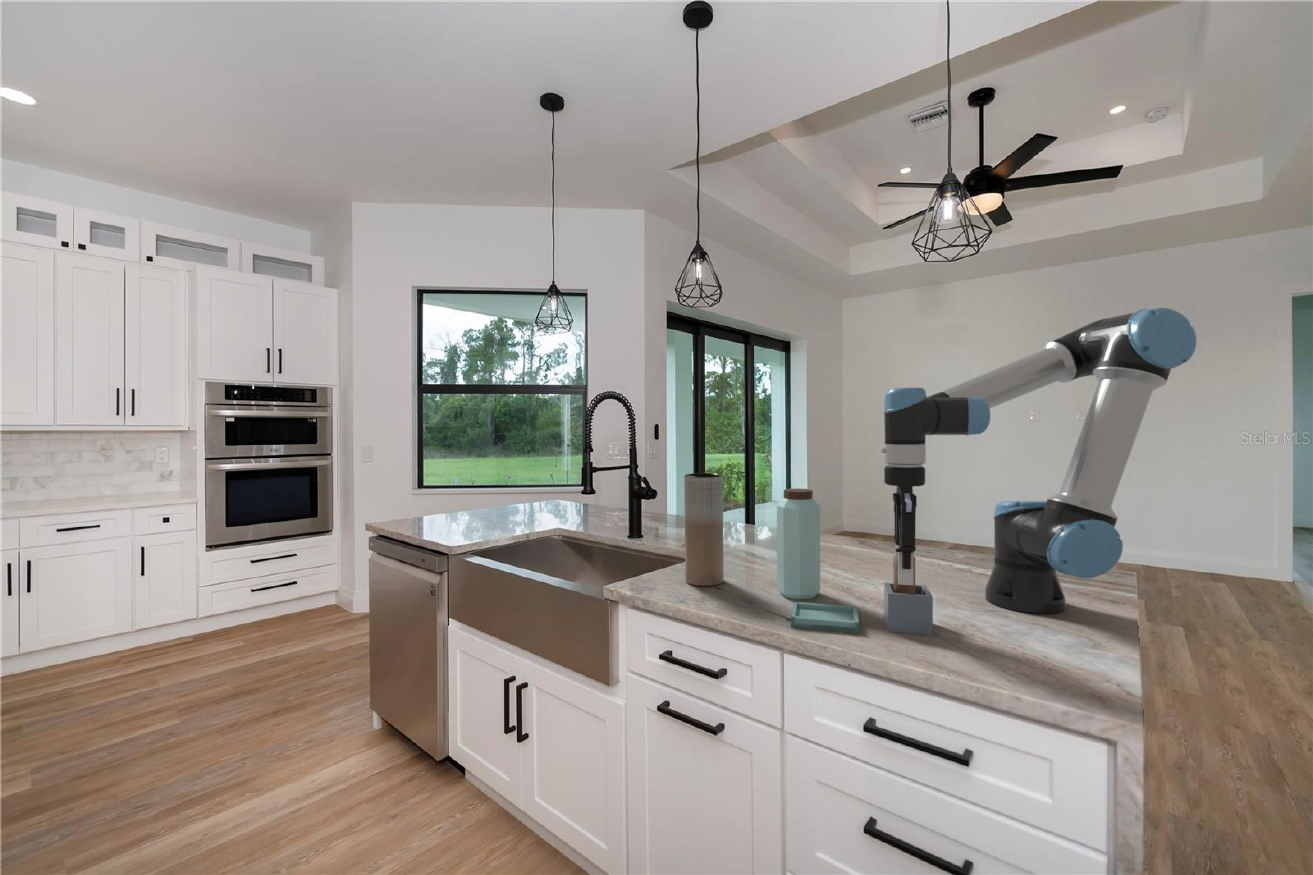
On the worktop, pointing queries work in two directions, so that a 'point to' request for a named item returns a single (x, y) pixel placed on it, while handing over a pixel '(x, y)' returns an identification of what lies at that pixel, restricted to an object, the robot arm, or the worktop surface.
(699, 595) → the worktop surface
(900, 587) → the dowel
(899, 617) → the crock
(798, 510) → the water bottle
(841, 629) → the tray
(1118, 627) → the worktop surface
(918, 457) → the robot arm
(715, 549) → the vase
